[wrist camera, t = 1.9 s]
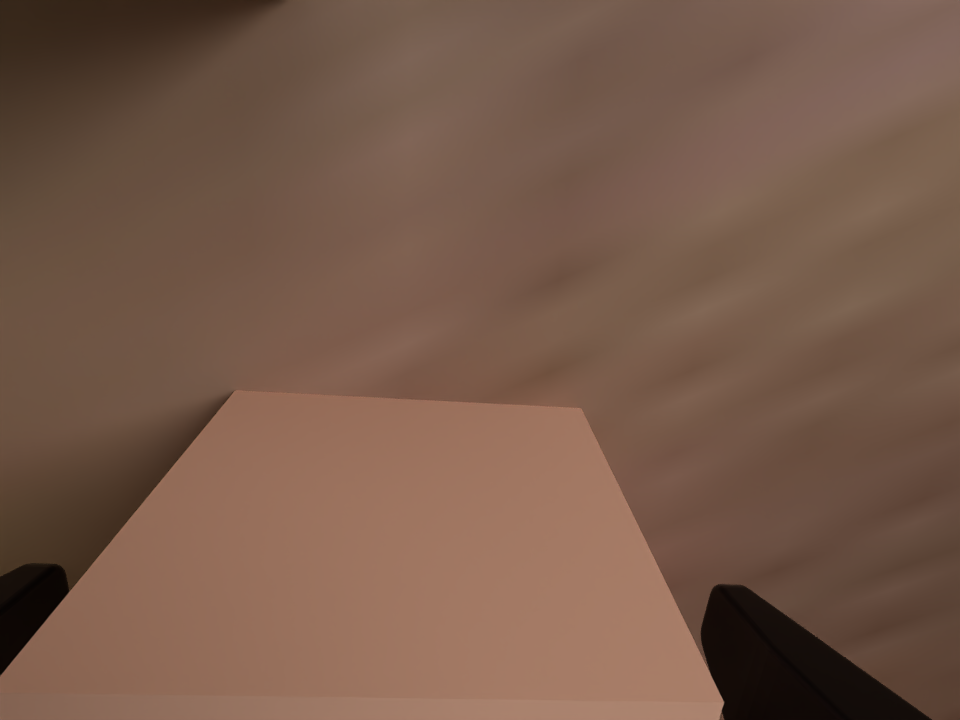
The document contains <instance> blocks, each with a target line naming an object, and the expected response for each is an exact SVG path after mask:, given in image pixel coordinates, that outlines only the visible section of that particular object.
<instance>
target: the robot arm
mask: <svg viewBox="0 0 960 720" xmlns="http://www.w3.org/2000/svg"><path fill="white" fill-rule="evenodd" d="M68 593H69V587H68V582H67V577H66V573H65V570H64V569H63V568H62V567H61V566H60V565H57V564H39V563H31V564H25V565H23V566H21V567H19V568H17V569H15V570H13V571H11V572H9V573H7V574H5V575H3V576H1V577H0V676H1V675H2V673H3V672H4V671H5V670H6V668H7V667H8V666H9V665H10V664H11V662H12V661H13V660H14V659H15V658H16V656H17V655H18V654H19V653H20V651H21V650H22V649H23V648H24V647H25V645H26V644H27V643H28V642H29V641H30V639H31V638H32V637H33V636H34V634H35V633H36V632H37V631H38V630H39V628H40V627H41V626H42V625H43V623H44V622H45V621H46V620H47V619H48V617H49V616H50V615H51V614H52V613H53V611H54V610H55V609H56V608H57V606H58V605H59V604H60V603H61V602H62V600H63V599H64V598H65V597H66V596H67V594H68ZM701 641H702V646H703V650H704V653H705V657H706V660H707V663H708V667H709V670H710V673H711V676H712V679H713V681H714V683H715V685H716V687H717V689H718V691H719V693H720V695H721V697H722V699H723V701H724V705H723V708H722V714H723V717H724V720H932V719H930V718H929V717H928V716H926V715H925V714H923V713H922V712H921V711H919V710H918V709H916V708H915V707H914V706H912V705H911V704H909V703H908V702H907V701H905V700H904V699H902V698H901V697H900V696H898V695H897V694H895V693H894V692H893V691H891V690H890V689H888V688H887V687H886V686H884V685H883V684H881V683H880V682H879V681H877V680H876V679H874V678H873V677H872V676H870V675H869V674H867V673H866V672H865V671H863V670H862V669H860V668H859V667H858V666H856V665H855V664H853V663H852V662H851V661H849V660H848V659H846V658H845V657H844V656H842V655H841V654H839V653H838V652H837V651H835V650H834V649H832V648H831V647H830V646H828V645H827V644H825V643H824V642H823V641H821V640H820V639H818V638H817V637H816V636H814V635H813V634H811V633H810V632H809V631H807V630H806V629H804V628H803V627H802V626H800V625H799V624H797V623H796V622H795V621H793V620H792V619H790V618H789V617H788V616H786V615H785V614H783V613H782V612H781V611H779V610H778V609H776V608H775V607H774V606H772V605H771V604H769V603H768V602H767V601H765V600H764V599H762V598H761V597H760V596H758V595H757V594H755V593H754V592H753V591H751V590H750V589H748V588H747V587H745V586H743V585H730V584H718V585H716V586H714V587H713V589H712V591H711V593H710V597H709V600H708V604H707V608H706V612H705V615H704V619H703V623H702V627H701Z"/></svg>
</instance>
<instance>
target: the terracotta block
mask: <svg viewBox="0 0 960 720" xmlns="http://www.w3.org/2000/svg"><path fill="white" fill-rule="evenodd" d="M723 705H724V701H723V699H722V697H721V695H720V693H719V691H718V689H717V687H716V685H715V683H714V681H713V679H712V676H711V674H710V672H709V670H708V668H707V666H706V664H705V662H704V660H703V658H702V656H701V654H700V652H699V650H698V648H697V646H696V644H695V641H694V639H693V637H692V635H691V633H690V631H689V629H688V627H687V625H686V623H685V621H684V619H683V617H682V615H681V613H680V611H679V609H678V607H677V604H676V602H675V600H674V598H673V596H672V594H671V592H670V590H669V588H668V586H667V584H666V582H665V580H664V578H663V576H662V574H661V572H660V570H659V567H658V565H657V563H656V561H655V559H654V557H653V555H652V553H651V551H650V549H649V547H648V545H647V543H646V541H645V539H644V537H643V535H642V533H641V530H640V528H639V526H638V524H637V522H636V520H635V518H634V516H633V514H632V512H631V510H630V508H629V506H628V504H627V502H626V500H625V498H624V495H623V493H622V491H621V489H620V487H619V485H618V483H617V481H616V479H615V477H614V475H613V473H612V471H611V469H610V467H609V465H608V463H607V461H606V458H605V456H604V454H603V452H602V450H601V448H600V446H599V444H598V442H597V440H596V438H595V436H594V434H593V432H592V430H591V428H590V426H589V424H588V421H587V419H586V417H585V415H584V413H583V411H582V409H581V408H567V407H548V406H529V405H509V404H490V403H471V402H452V401H433V400H413V399H394V398H375V397H356V396H337V395H317V394H298V393H279V392H260V391H241V390H235V391H234V392H233V394H232V395H231V396H230V397H229V399H228V400H227V401H226V402H225V403H224V405H223V406H222V407H221V408H220V409H219V411H218V412H217V413H216V414H215V416H214V417H213V418H212V419H211V420H210V422H209V423H208V424H207V425H206V426H205V428H204V429H203V430H202V431H201V433H200V434H199V435H198V436H197V437H196V439H195V440H194V441H193V442H192V444H191V445H190V446H189V447H188V448H187V450H186V451H185V452H184V453H183V454H182V456H181V457H180V458H179V459H178V461H177V462H176V463H175V464H174V465H173V467H172V468H171V469H170V470H169V471H168V473H167V474H166V475H165V476H164V478H163V479H162V480H161V481H160V482H159V484H158V485H157V486H156V487H155V488H154V490H153V491H152V492H151V493H150V495H149V496H148V497H147V498H146V499H145V501H144V502H143V503H142V504H141V506H140V507H139V508H138V509H137V510H136V512H135V513H134V514H133V515H132V516H131V518H130V519H129V520H128V521H127V523H126V524H125V525H124V526H123V527H122V529H121V530H120V531H119V532H118V533H117V535H116V536H115V537H114V538H113V540H112V541H111V542H110V543H109V544H108V546H107V547H106V548H105V549H104V551H103V552H102V553H101V554H100V555H99V557H98V558H97V559H96V560H95V561H94V563H93V564H92V565H91V566H90V568H89V569H88V570H87V571H86V572H85V574H84V575H83V576H82V577H81V578H80V580H79V581H78V582H77V583H76V585H75V586H74V587H73V588H72V589H71V591H70V592H69V593H68V594H67V596H66V597H65V598H64V599H63V600H62V602H61V603H60V604H59V605H58V606H57V608H56V609H55V610H54V611H53V613H52V614H51V615H50V616H49V617H48V619H47V620H46V621H45V622H44V623H43V625H42V626H41V627H40V628H39V630H38V631H37V632H36V633H35V634H34V636H33V637H32V638H31V639H30V641H29V642H28V643H27V644H26V645H25V647H24V648H23V649H22V650H21V651H20V653H19V654H18V655H17V656H16V658H15V659H14V660H13V661H12V662H11V664H10V665H9V666H8V667H7V668H6V670H5V671H4V672H3V673H2V675H1V676H0V720H719V718H720V715H721V711H722V708H723Z"/></svg>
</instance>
